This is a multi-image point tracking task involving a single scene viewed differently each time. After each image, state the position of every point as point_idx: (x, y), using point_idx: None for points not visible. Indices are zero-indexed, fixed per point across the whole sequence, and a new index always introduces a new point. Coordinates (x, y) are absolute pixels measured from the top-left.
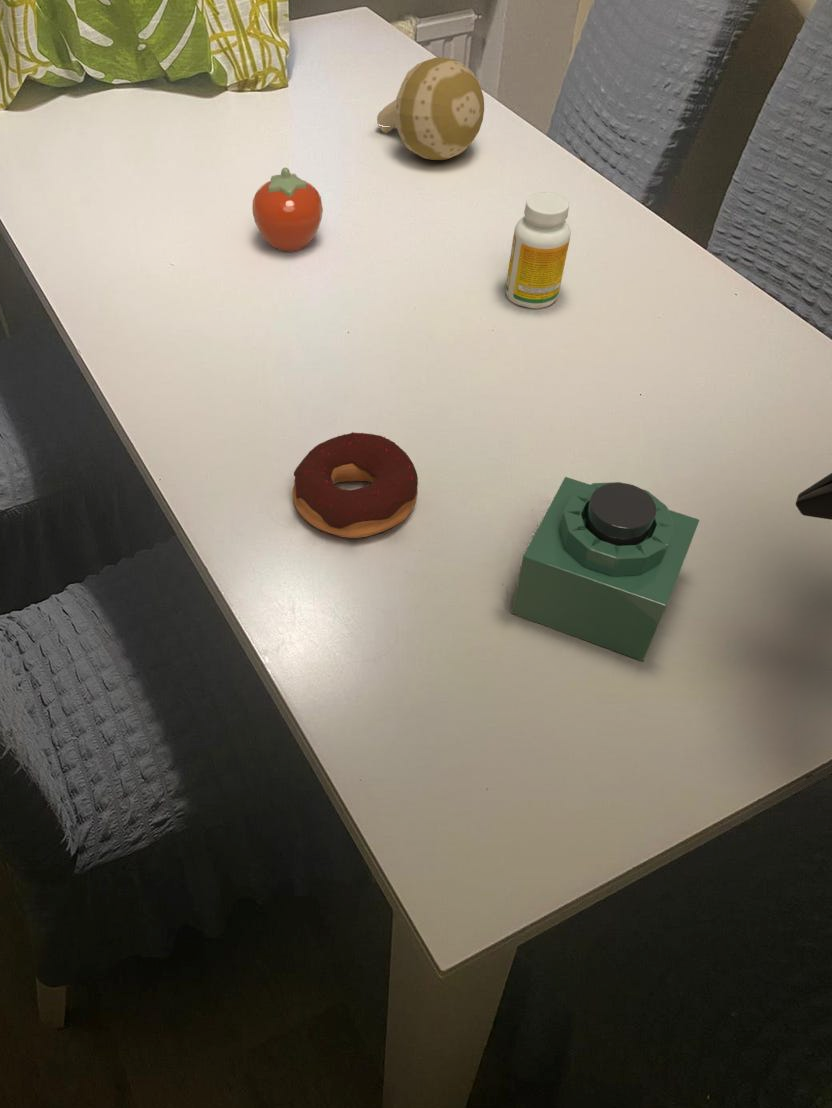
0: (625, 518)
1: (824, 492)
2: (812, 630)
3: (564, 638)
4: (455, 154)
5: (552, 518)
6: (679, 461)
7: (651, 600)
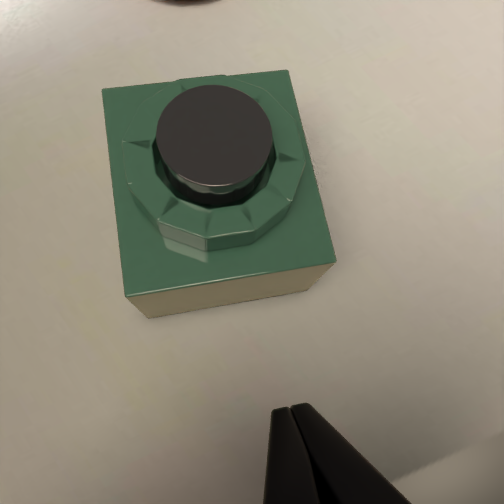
0: (184, 148)
1: (273, 488)
2: None
3: None
4: None
5: None
6: (497, 207)
7: (123, 273)
